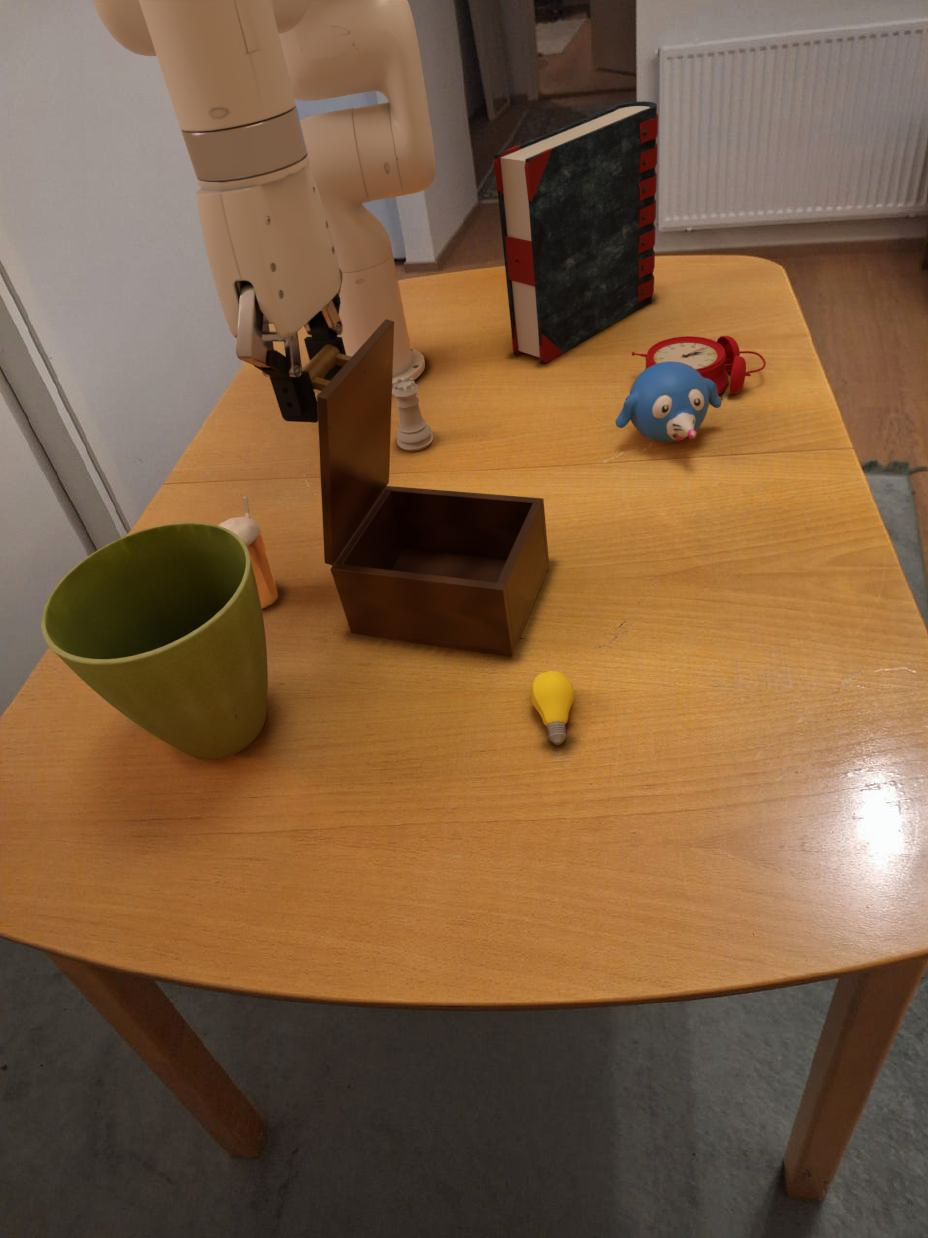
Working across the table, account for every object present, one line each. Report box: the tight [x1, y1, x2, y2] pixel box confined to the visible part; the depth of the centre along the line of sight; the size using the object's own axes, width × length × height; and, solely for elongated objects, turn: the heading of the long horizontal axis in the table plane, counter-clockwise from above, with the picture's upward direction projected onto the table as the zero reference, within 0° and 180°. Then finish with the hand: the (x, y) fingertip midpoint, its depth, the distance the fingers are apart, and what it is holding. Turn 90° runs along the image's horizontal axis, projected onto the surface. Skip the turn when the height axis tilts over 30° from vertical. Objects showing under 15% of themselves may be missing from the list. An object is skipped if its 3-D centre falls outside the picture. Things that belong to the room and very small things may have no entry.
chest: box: [329, 485, 550, 658], centre depth 73 cm, size 16×13×8 cm
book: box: [493, 100, 659, 365], centre depth 107 cm, size 25×7×25 cm, turn 132°
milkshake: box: [218, 496, 279, 609], centre depth 77 cm, size 5×5×10 cm
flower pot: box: [40, 521, 269, 761], centre depth 63 cm, size 15×15×16 cm
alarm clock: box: [631, 335, 767, 395], centre depth 97 cm, size 10×6×15 cm
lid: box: [302, 319, 394, 567], centre depth 67 cm, size 16×13×5 cm
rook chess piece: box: [392, 377, 434, 452], centre depth 95 cm, size 4×4×8 cm
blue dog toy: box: [614, 361, 722, 443], centre depth 87 cm, size 12×12×8 cm
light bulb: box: [529, 670, 576, 745], centre depth 63 cm, size 3×6×4 cm, turn 1°
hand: (318, 399), depth 65 cm, fingers closed on lid, 5 cm apart
